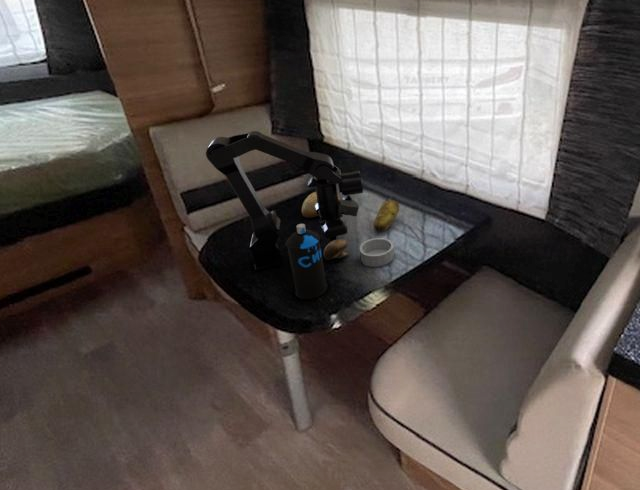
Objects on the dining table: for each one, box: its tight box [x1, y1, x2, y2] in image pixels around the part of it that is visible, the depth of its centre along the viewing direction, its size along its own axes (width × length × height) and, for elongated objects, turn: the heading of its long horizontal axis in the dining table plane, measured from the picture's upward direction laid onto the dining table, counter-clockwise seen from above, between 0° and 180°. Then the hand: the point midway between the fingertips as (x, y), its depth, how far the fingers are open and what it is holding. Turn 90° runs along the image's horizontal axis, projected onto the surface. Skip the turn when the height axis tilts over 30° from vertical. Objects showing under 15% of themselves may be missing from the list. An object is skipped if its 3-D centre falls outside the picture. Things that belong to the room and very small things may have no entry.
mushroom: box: [322, 238, 349, 261], centre depth 126 cm, size 8×8×6 cm
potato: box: [373, 199, 400, 233], centre depth 144 cm, size 8×13×8 cm, turn 149°
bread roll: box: [301, 191, 341, 219], centre depth 152 cm, size 10×15×8 cm, turn 141°
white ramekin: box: [358, 237, 395, 268], centre depth 127 cm, size 10×10×4 cm
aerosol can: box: [285, 223, 328, 300], centre depth 109 cm, size 8×8×20 cm
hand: (333, 241), depth 130 cm, fingers closed
